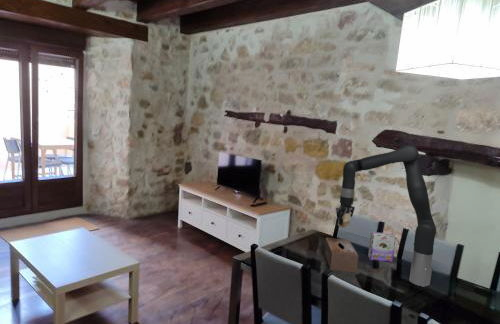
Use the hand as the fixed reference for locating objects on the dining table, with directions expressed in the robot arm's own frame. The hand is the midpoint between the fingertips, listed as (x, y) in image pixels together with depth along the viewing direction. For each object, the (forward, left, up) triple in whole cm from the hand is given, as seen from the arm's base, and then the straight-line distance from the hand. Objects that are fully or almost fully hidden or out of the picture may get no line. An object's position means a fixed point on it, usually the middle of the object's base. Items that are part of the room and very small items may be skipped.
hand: (343, 224), depth 206 cm
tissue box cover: (+1, -1, -24) cm, 24 cm away
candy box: (-7, -29, -24) cm, 38 cm away
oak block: (0, 0, -1) cm, 1 cm away
